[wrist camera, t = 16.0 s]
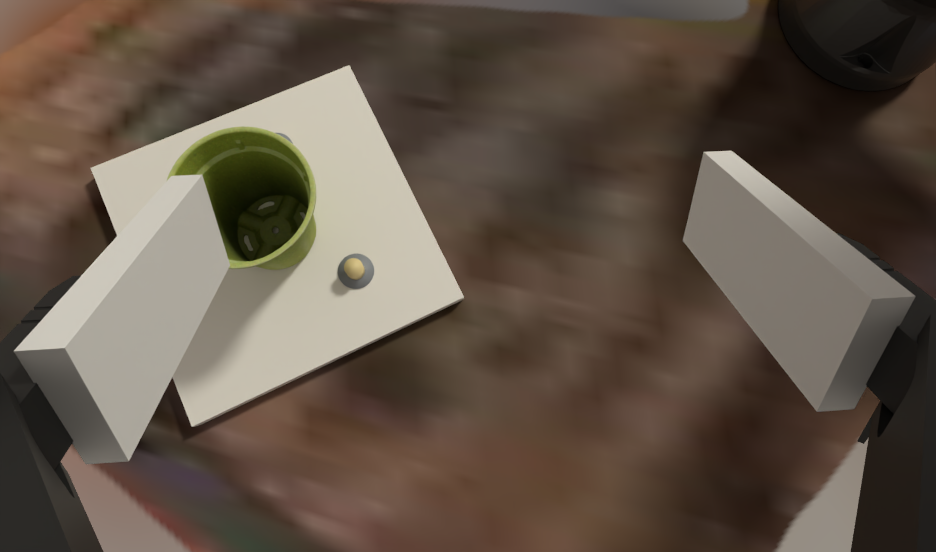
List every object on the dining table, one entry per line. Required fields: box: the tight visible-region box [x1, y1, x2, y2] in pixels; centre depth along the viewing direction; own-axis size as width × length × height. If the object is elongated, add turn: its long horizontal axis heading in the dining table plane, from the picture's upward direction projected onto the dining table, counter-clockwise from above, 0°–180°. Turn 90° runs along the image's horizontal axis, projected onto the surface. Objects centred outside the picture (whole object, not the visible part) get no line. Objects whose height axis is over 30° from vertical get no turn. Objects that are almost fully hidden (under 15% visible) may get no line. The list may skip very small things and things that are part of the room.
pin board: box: [91, 66, 464, 427], centre depth 43 cm, size 22×22×3 cm
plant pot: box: [167, 126, 316, 270], centre depth 39 cm, size 9×9×9 cm
